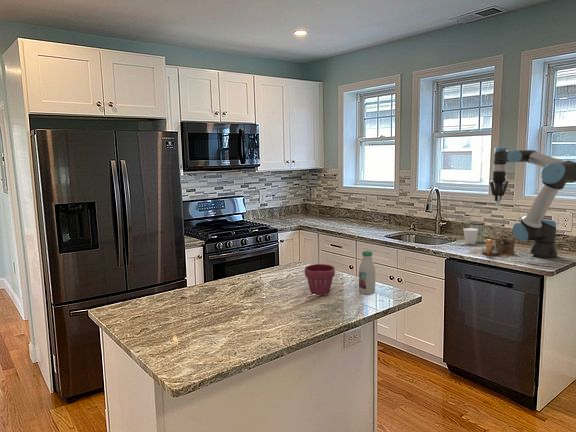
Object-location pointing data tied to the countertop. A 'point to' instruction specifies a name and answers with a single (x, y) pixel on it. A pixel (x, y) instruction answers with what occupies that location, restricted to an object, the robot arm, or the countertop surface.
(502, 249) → the stand
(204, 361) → the countertop surface
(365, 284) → the milk bottle
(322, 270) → the plant pot
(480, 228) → the glass jar
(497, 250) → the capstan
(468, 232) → the cup
